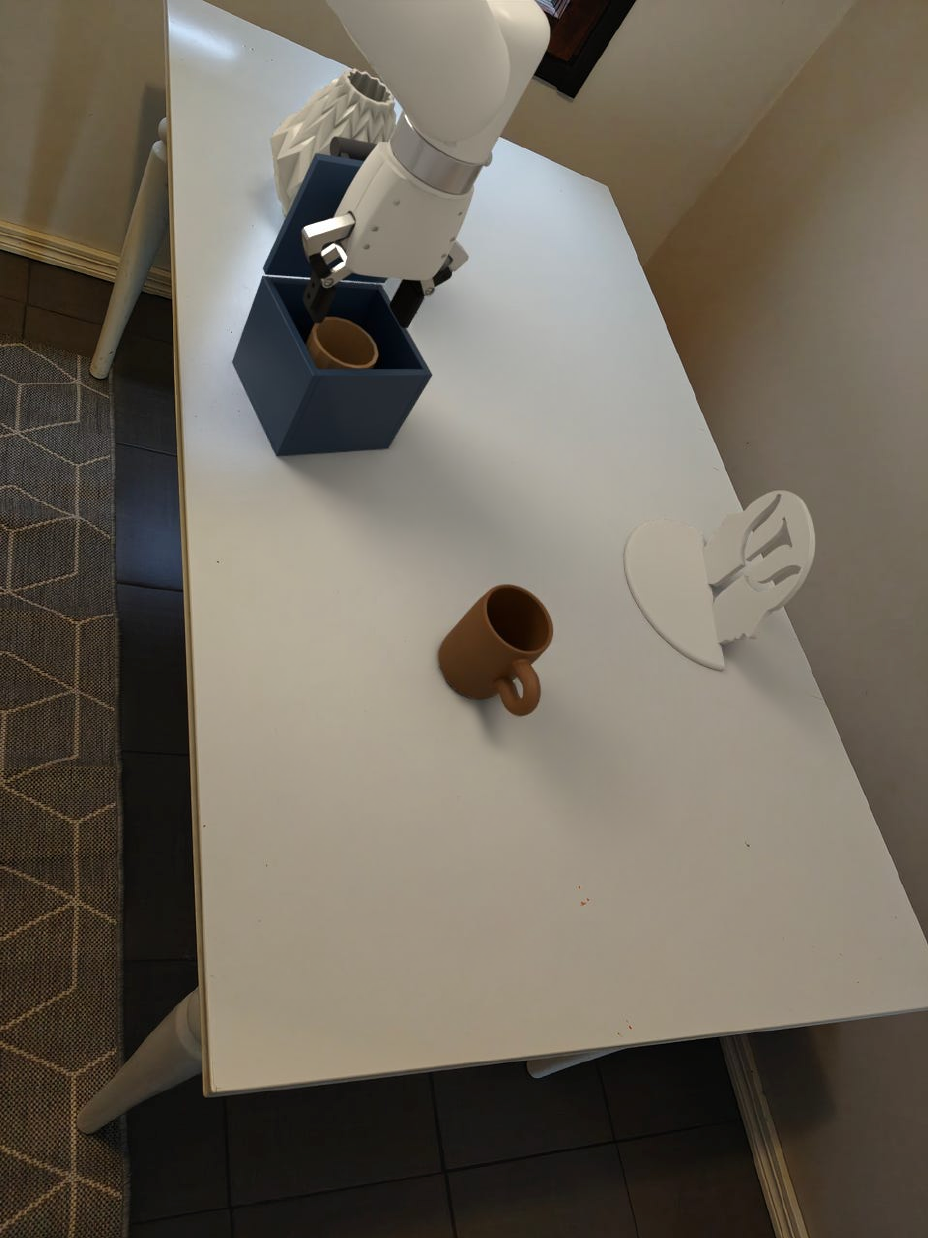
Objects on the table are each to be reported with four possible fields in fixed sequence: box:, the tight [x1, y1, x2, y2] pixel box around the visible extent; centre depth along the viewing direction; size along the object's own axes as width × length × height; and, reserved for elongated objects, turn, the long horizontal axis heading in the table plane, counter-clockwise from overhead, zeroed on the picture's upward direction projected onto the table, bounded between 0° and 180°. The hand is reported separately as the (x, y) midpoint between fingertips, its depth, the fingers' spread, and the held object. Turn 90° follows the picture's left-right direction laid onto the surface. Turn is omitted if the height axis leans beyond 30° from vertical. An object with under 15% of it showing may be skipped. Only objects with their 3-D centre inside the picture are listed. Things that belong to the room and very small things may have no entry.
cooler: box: [231, 275, 433, 457], centre depth 87 cm, size 13×14×11 cm
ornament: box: [623, 490, 816, 672], centre depth 99 cm, size 22×13×17 cm, turn 178°
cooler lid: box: [262, 136, 389, 284], centre depth 80 cm, size 13×14×5 cm
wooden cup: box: [305, 317, 378, 370], centre depth 87 cm, size 7×7×9 cm
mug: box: [438, 583, 554, 717], centre depth 79 cm, size 12×8×9 cm, turn 14°
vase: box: [269, 67, 397, 217], centre depth 102 cm, size 16×16×18 cm
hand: (356, 314), depth 81 cm, fingers open, 9 cm apart
